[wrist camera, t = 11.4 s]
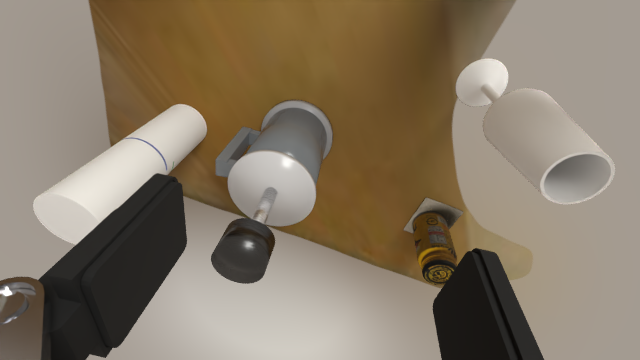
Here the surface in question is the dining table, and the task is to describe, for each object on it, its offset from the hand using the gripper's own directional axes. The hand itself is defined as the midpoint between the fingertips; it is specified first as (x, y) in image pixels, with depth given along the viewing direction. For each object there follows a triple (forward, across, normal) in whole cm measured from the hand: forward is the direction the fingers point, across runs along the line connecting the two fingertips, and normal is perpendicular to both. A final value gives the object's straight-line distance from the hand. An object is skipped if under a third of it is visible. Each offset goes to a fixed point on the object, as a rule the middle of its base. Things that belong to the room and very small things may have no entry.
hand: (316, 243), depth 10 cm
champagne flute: (+38, -18, +2) cm, 43 cm away
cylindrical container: (+38, +25, +19) cm, 50 cm away
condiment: (+39, -21, +27) cm, 52 cm away
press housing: (+38, +7, +16) cm, 42 cm away
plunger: (+22, +6, +16) cm, 28 cm away
